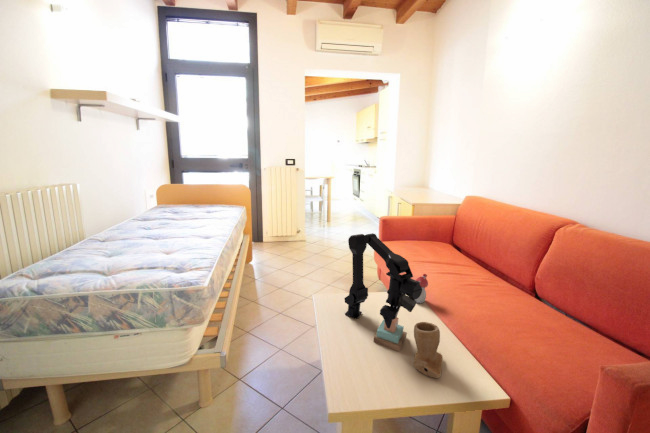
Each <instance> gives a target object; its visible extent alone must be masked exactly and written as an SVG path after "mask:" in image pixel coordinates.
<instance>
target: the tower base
mask: <svg viewBox="0 0 650 433" xmlns="http://www.w3.org/2000/svg"><path fill="white" fill-rule="evenodd" d="M407 334H408V332H406V331H404V330H403V334H402V336H401V338H400V340H399V342H398V344H397V343H394V342H391V341H388V340H385V339H382V338H379V337H376V335H377V332H376V333H375V335H374V336H373V341H372V342H373V343H376V344H378V345H381V346H383V347H386V348H389V349H392V350H394V351H397V352H401V348H402V346H403V345H404V343H405V341H406V340H407Z"/></svg>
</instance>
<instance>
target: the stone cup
mask: <svg viewBox="0 0 650 433" xmlns="http://www.w3.org/2000/svg"><path fill="white" fill-rule="evenodd" d="M413 338H414V341H415V344H416V345H415V346H416V350H417V351H416V352H415V355H414V359H413V360H414V361H413V367H414V368H415V369H416V370H418V371H419V372H420V373H421V374H423V375H425V376H427V377H430V378H434V379H435V378H436V379H439V378H441V374H442V368H443V355H442V354H441V353H440V352H438V349H439V348H438V347H439V345H440V341H441V331H440V328H439V327H438V325H436V324H434V323H432V322H427V321H420V322H417V323H416V324H415V325H414V327H413Z"/></svg>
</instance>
